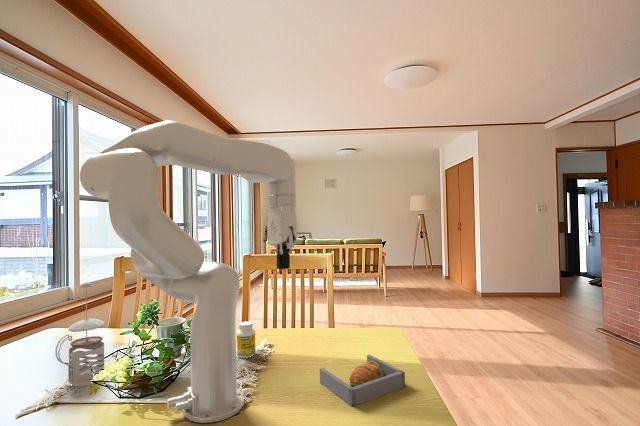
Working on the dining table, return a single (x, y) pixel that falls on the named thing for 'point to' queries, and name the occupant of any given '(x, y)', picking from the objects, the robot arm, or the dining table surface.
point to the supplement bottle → (245, 340)
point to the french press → (82, 373)
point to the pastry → (365, 373)
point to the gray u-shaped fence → (365, 384)
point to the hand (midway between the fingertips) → (283, 268)
